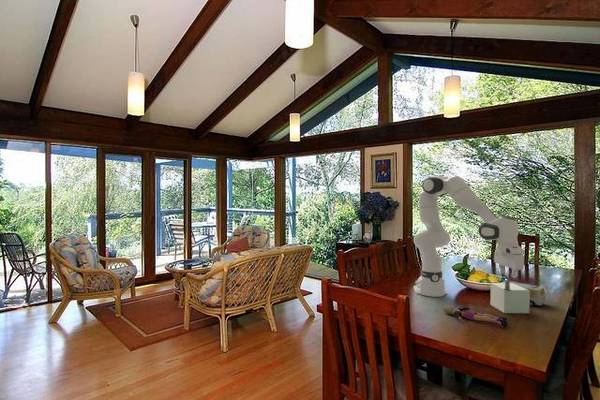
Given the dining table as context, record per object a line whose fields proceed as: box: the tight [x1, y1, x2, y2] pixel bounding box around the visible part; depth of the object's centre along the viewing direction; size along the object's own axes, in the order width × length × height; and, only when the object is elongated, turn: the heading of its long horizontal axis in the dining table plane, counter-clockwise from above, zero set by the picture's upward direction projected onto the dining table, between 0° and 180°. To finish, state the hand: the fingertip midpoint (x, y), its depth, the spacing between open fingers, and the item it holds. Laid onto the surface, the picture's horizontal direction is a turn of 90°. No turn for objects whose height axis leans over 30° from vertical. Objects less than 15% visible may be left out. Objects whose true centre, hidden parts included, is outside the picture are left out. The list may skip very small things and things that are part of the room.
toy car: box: [510, 281, 547, 307], centre depth 198 cm, size 11×25×10 cm, turn 41°
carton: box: [489, 282, 527, 314], centre depth 185 cm, size 14×12×12 cm
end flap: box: [504, 279, 531, 314], centre depth 177 cm, size 2×12×17 cm, turn 89°
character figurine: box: [443, 305, 508, 329], centre depth 169 cm, size 20×4×28 cm
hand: (507, 275), depth 177 cm, fingers open, 8 cm apart
